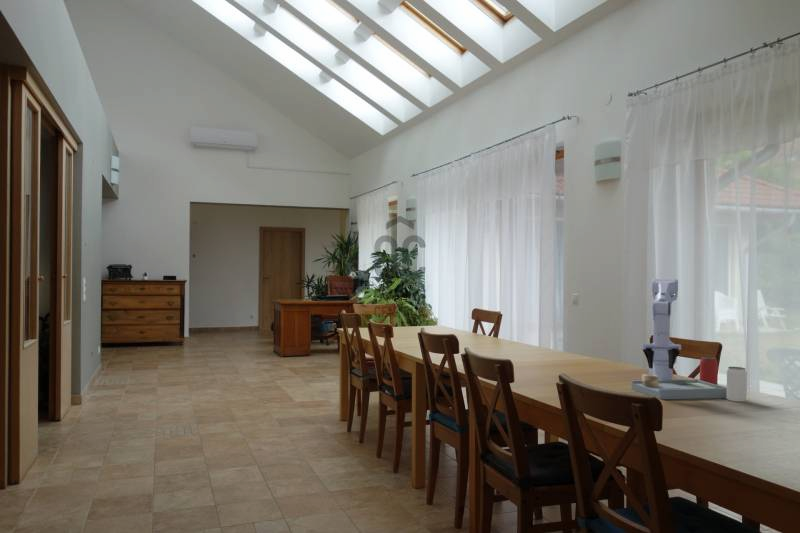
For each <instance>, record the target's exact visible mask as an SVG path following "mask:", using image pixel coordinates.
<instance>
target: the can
mask: <svg viewBox="0 0 800 533" xmlns="http://www.w3.org/2000/svg"><path fill="white" fill-rule="evenodd" d="M727 368H728V369H727V370H726V387H727V395H726V398H725V399H726V400H727V401H729V402H735V403H745V402H746V401H747V390H748V389H747V386H748V384H747V382H748V377H747V376H748V372H747V369H746V367H742V366H741V367H740V366H728V367H727Z"/></svg>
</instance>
